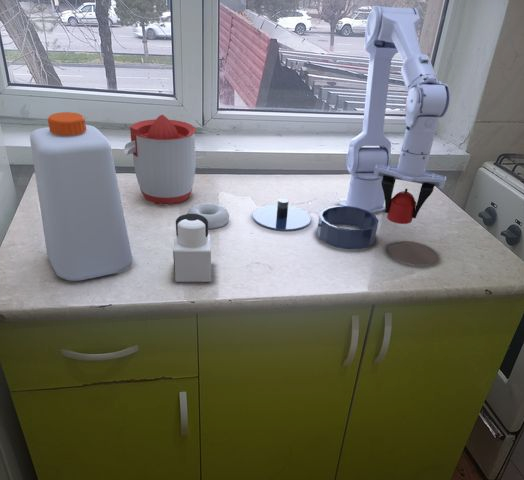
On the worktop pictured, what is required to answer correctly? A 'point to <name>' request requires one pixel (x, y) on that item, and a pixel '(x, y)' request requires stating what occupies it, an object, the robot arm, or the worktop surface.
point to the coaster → (412, 253)
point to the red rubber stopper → (402, 208)
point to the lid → (281, 217)
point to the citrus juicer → (163, 159)
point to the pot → (347, 236)
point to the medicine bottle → (192, 249)
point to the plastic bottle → (79, 199)
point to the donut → (211, 214)
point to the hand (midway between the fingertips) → (400, 213)
